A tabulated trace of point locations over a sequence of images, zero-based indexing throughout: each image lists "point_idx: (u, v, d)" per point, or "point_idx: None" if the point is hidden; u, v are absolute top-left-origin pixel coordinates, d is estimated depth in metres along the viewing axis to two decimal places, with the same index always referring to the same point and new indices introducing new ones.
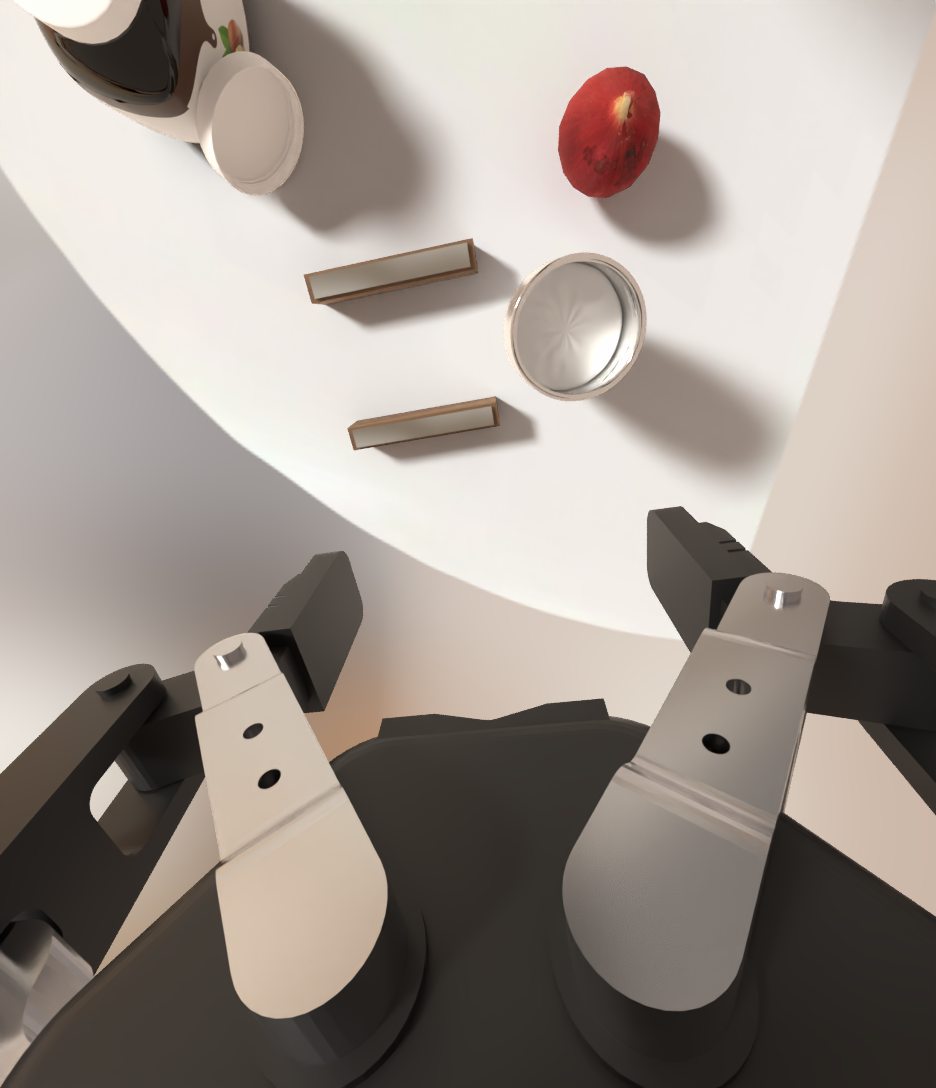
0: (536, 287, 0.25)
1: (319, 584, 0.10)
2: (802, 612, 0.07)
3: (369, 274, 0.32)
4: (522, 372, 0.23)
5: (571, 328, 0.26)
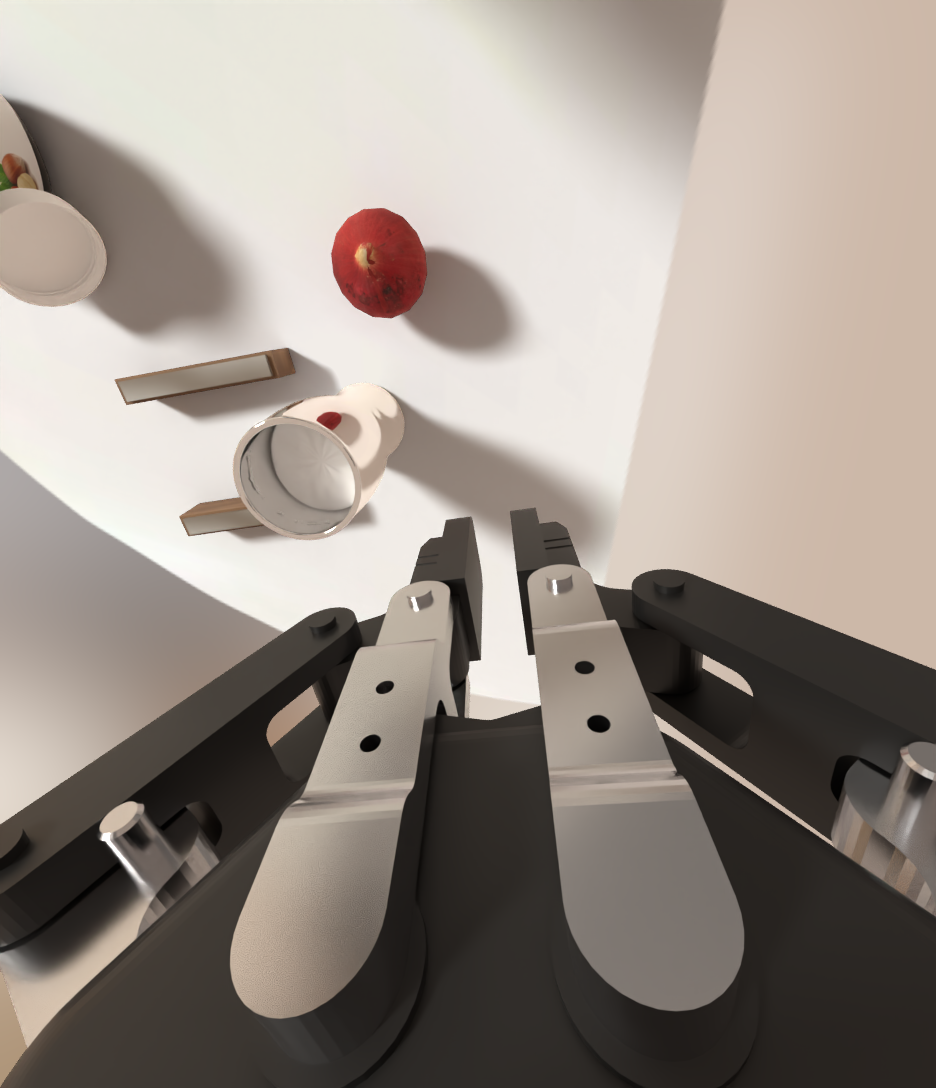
0: None
1: (468, 543, 0.11)
2: (561, 596, 0.08)
3: (176, 381, 0.33)
4: (254, 515, 0.24)
5: (327, 459, 0.27)
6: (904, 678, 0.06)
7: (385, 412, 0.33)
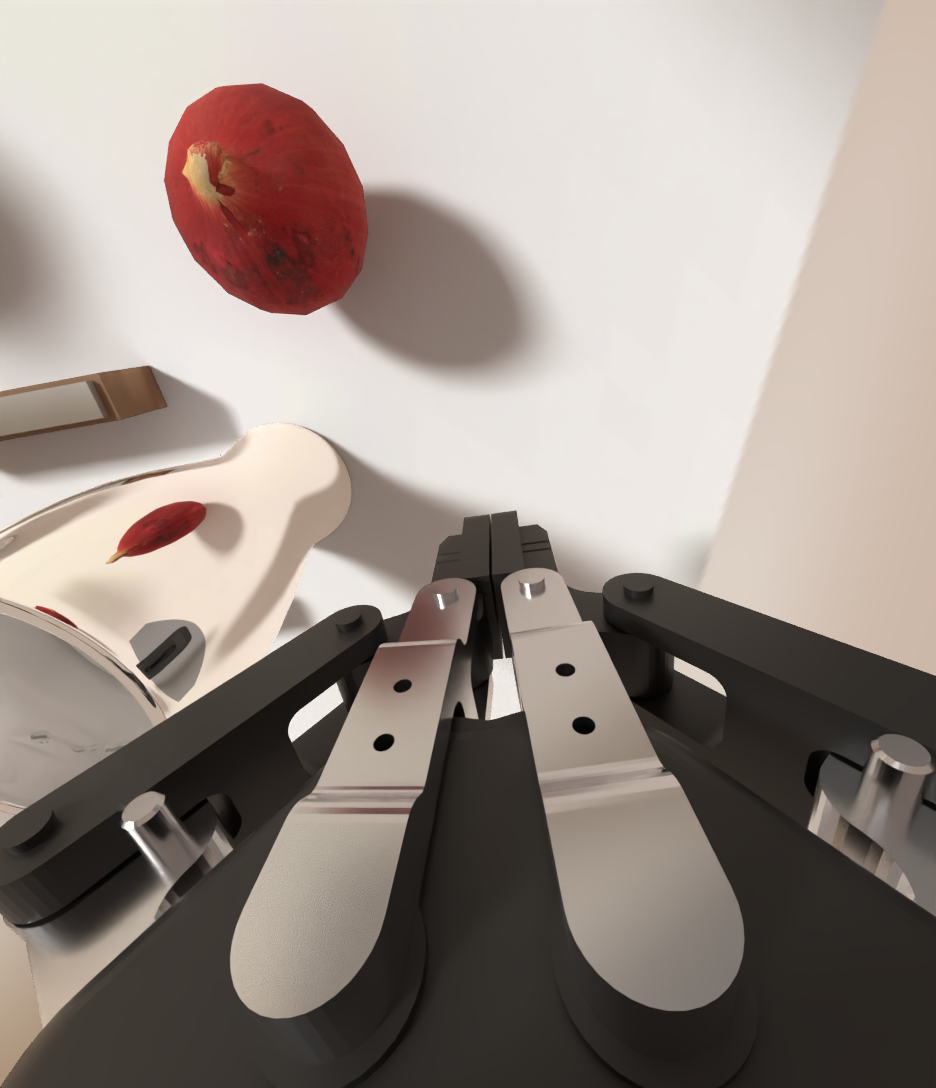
0: None
1: (488, 540, 0.11)
2: (532, 600, 0.08)
3: None
4: None
5: None
6: (868, 672, 0.06)
7: (308, 478, 0.19)
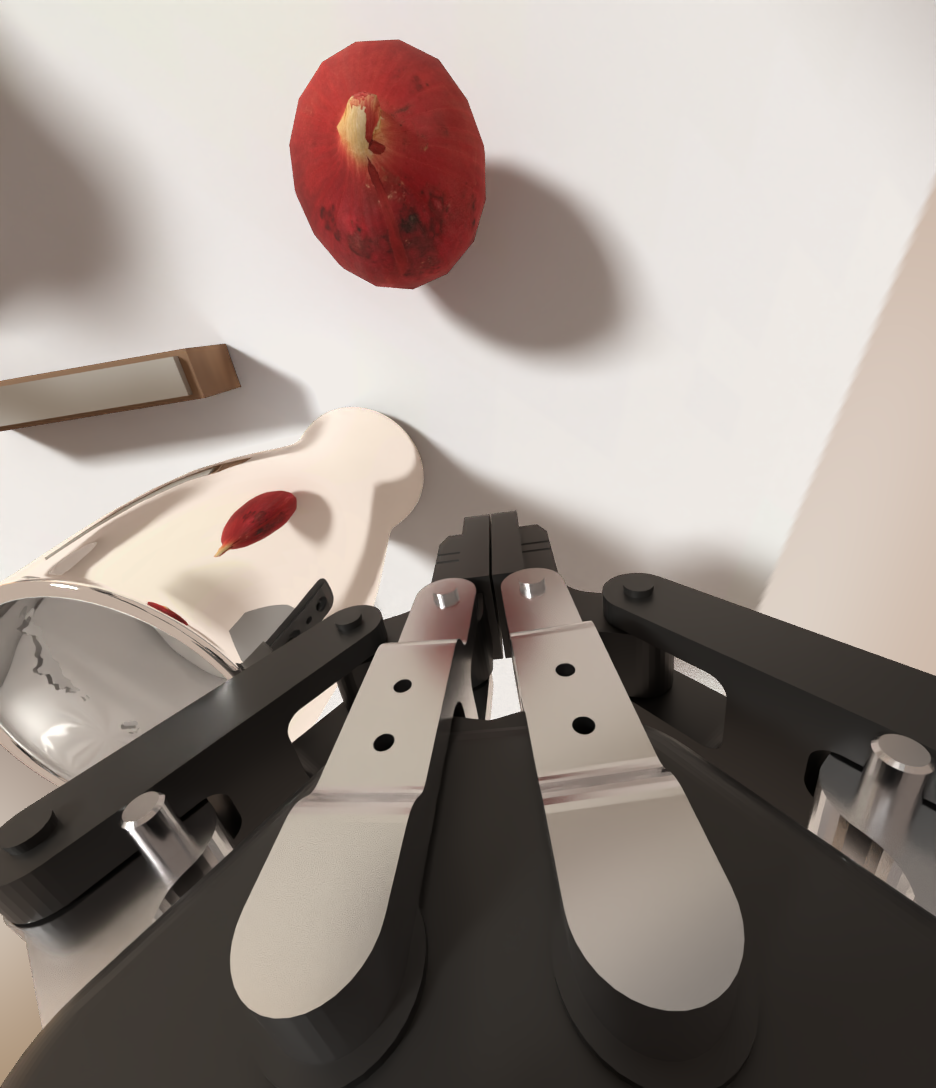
0: None
1: (489, 541, 0.11)
2: (532, 600, 0.08)
3: (14, 402, 0.18)
4: (34, 771, 0.10)
5: None
6: (868, 672, 0.06)
7: (388, 468, 0.18)
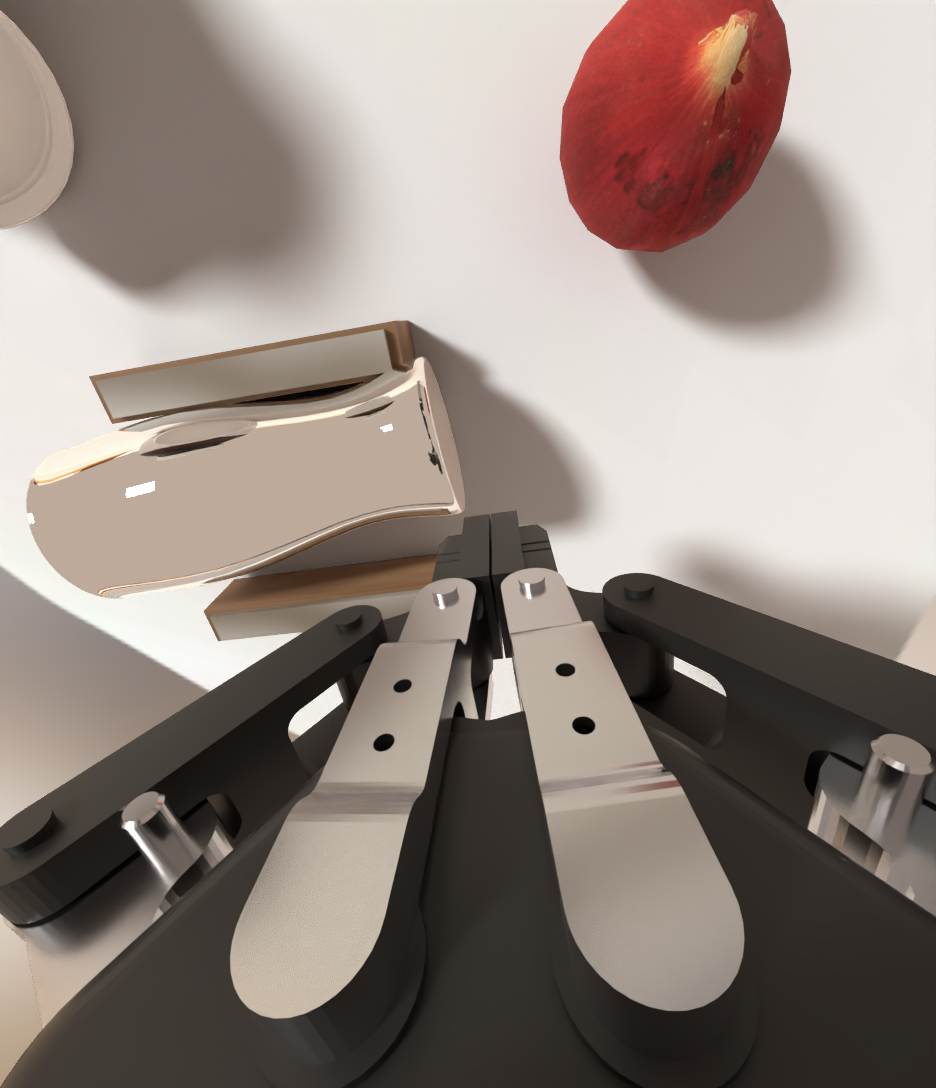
0: None
1: (488, 541, 0.11)
2: (532, 600, 0.08)
3: (206, 380, 0.17)
4: None
5: None
6: (868, 672, 0.06)
7: (339, 393, 0.17)
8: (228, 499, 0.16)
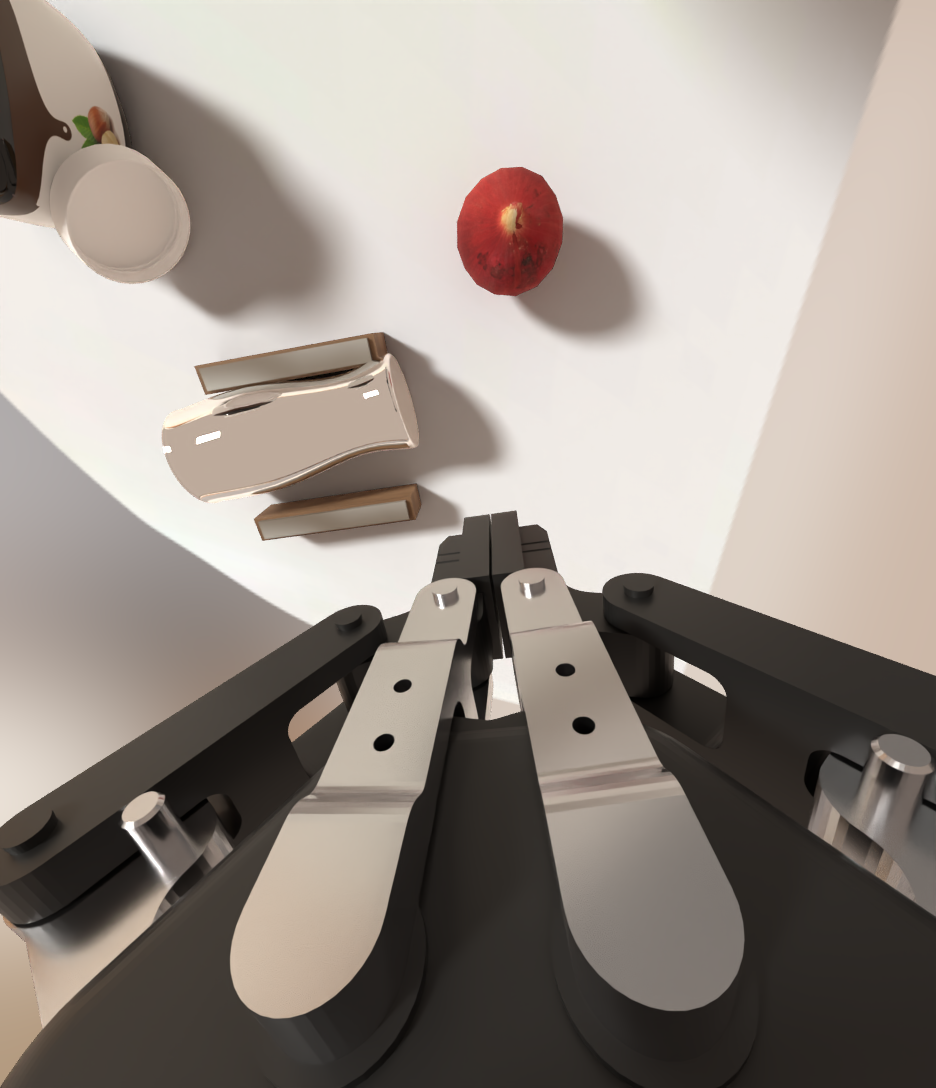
0: None
1: (489, 540, 0.11)
2: (532, 600, 0.08)
3: (264, 367, 0.29)
4: None
5: None
6: (867, 672, 0.06)
7: (341, 374, 0.29)
8: (278, 433, 0.28)
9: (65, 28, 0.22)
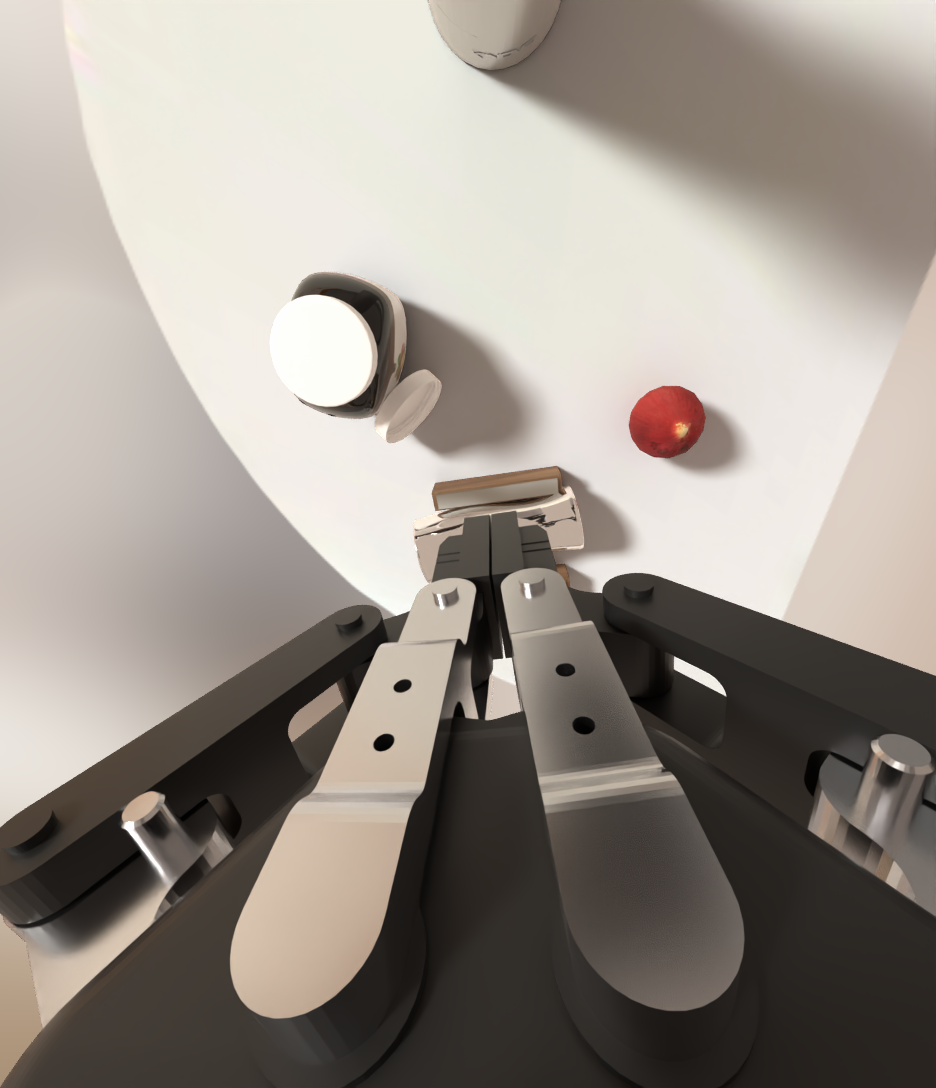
0: None
1: (489, 541, 0.11)
2: (532, 600, 0.08)
3: (482, 495, 0.43)
4: None
5: None
6: (868, 672, 0.06)
7: (537, 502, 0.42)
8: None
9: (400, 306, 0.36)
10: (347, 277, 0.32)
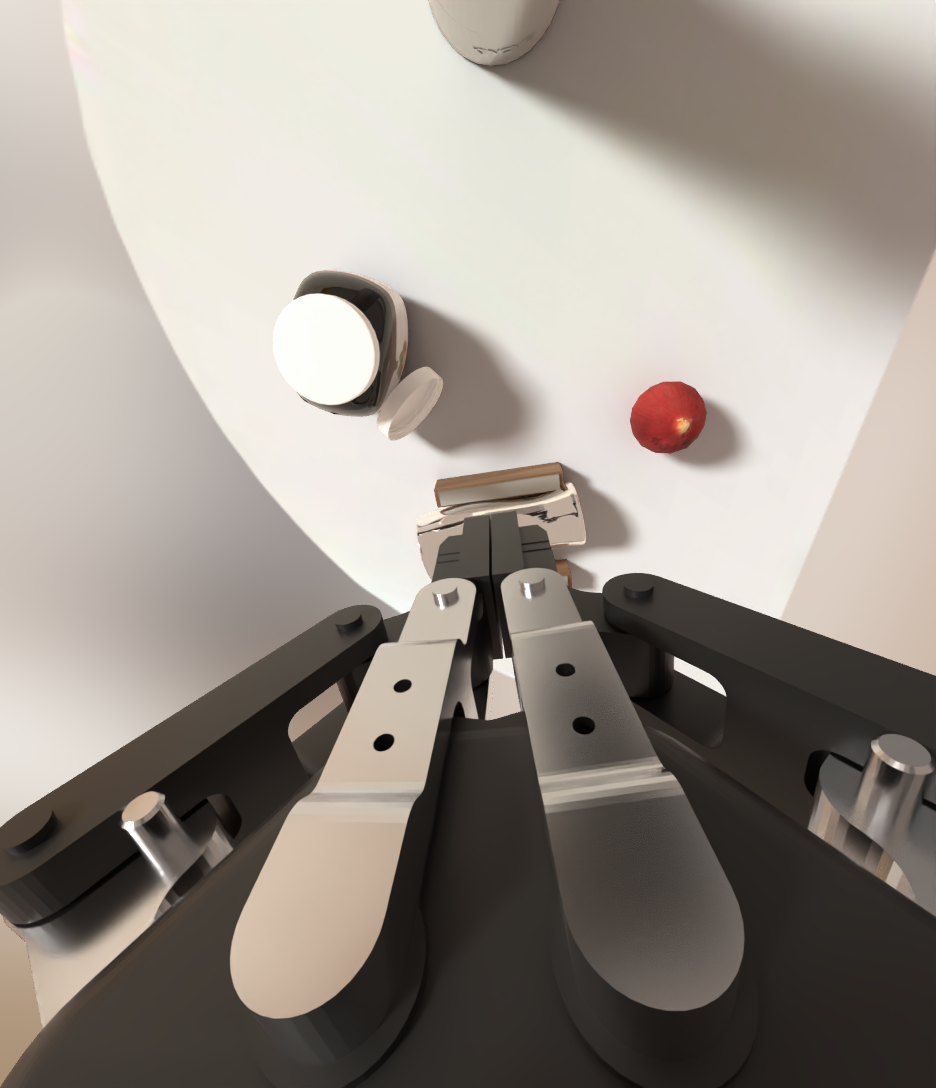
0: None
1: (488, 540, 0.11)
2: (532, 600, 0.08)
3: (484, 492, 0.43)
4: None
5: None
6: (868, 671, 0.06)
7: (539, 498, 0.43)
8: None
9: (402, 304, 0.36)
10: (349, 275, 0.32)
